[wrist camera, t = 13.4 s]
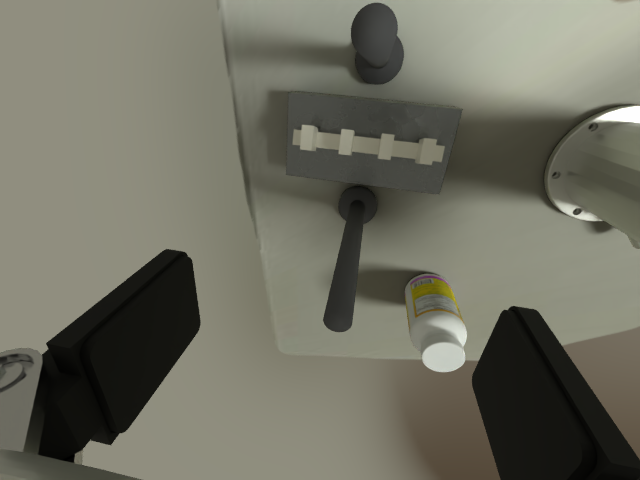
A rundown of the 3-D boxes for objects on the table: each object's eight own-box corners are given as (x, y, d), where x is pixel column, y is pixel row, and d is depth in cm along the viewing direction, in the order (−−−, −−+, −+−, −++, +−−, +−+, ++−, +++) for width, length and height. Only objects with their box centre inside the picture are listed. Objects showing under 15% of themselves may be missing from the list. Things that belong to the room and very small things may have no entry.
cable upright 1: (384, 207, 41) (389, 330, 21) (354, 227, 43) (332, 357, 23) (361, 178, 40) (343, 278, 20) (332, 200, 42) (287, 312, 22)
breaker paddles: (443, 142, 33) (452, 141, 29) (438, 165, 33) (446, 166, 30) (296, 126, 34) (288, 123, 31) (294, 148, 35) (286, 147, 32)
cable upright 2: (412, 61, 33) (458, 36, 13) (374, 94, 35) (362, 117, 15) (384, 19, 32) (388, -80, 12) (347, 56, 34) (295, 26, 14)
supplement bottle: (435, 314, 48) (453, 386, 36) (396, 297, 48) (401, 365, 36) (460, 282, 44) (487, 350, 33) (418, 264, 44) (431, 327, 33)
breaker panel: (454, 106, 35) (462, 109, 31) (433, 184, 39) (439, 194, 35) (297, 91, 37) (288, 92, 33) (294, 166, 41) (286, 174, 37)
